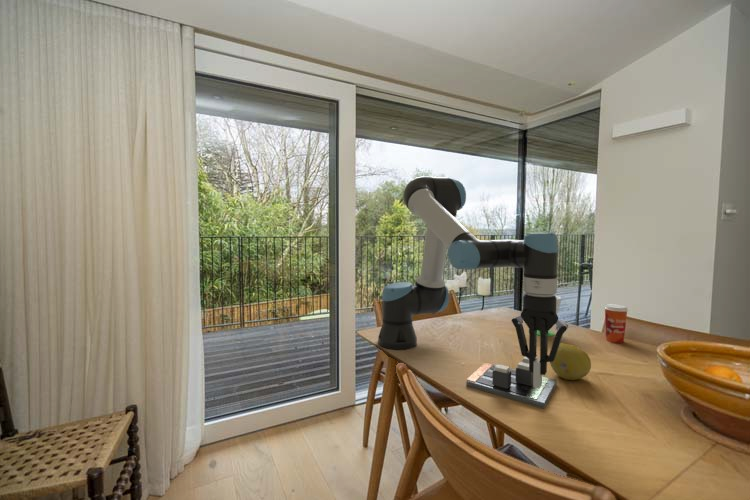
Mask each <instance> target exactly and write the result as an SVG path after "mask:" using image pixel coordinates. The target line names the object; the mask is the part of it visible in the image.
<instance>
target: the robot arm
mask: <svg viewBox="0 0 750 500" xmlns="http://www.w3.org/2000/svg"><path fill="white" fill-rule="evenodd" d="M402 197H403V202H404V204H405V205H404V206H405V207H406V208H407V210H409V211H410V212H411V214H413V215H417V216H418V217H419V218H420V219H421V220H422V221H423V222H424V223H425V225H426V226H427V227H426V233H425V239H424V240H425V241H424V245H423V246H424V248H423V254H422V260H421V261H422V263H421V269H420V275H419V276H417V277H416V279H415V285H413V284H412V282H408V281H399V282H393V283H388V284H387V285H385V286H384V287H383V289H382V295H381V296H382V297H381V300H382V303H381V304H382V306H381V307H382V308H381V309H382V324H381V327H380V330H379V334H378V336H377V337H378V338H377V340H378V341H377V343H378V345H379V346H380V347H382V348H385V349H390V350H406V349H411V348H414V347H415V346H417V344H418V338H417V335H416V331H415V328H414V324H413V316H416V315H418V316H419V315H426V314H436V313H441V312H443V311H445V310H446V308H447V307H448V305H449V303H450V293H449V292H450V291H449V288H448V287H447V285H446V282H445V281H444V280H443V276H444V270H445V269H444V268H445V262H446V256H448V260H449V263H450V265H451V266H452V267H453V268H455V269H456V270H467V271H469V270H478V269H488V268H489V269H491V268H492V269H494V268H496V269H497V268H517V269H518V268H519V269H523V280H522V281H523V282H522V283H523V285H522V286H523V287H522V288H523V289H522V290H523V293H524V294H523V295H522V311H521V312H520V315H518V316H514V317H513V318H511V323H512V324H513V326H514V327H515V332H516V335H517V340H518V344H519V349H520V353H521V356H523V357H527V358H528V359H529V371H530V372H533V387H537V388H540V387H541V385H542V377H543V376H545V375H546V374H547V372H548V371H547V369H548V363H550V362H553V361H554V359H555V357H556V354H557V351H558V348H559V345H560V343H562V342H561V341H562V338H563V335H564V333H565V332H566V331H567V330H568V328H569V325H568V324H567V323H563V322H562V321H561V320H559V316H558V314H556V296H557V295H556V294H557V290H558V289H557V288H558V286H557V285H558V275H557V271H558V270H557V269H558V257H559V256H558V254H559V247H558V235H557V234H556V233H554V232H526V233H525V234H524V237H523V239H507V238H500V239H478V238H477V237H476V236H475V235H474V234H473V233H472V232H470V230H468V229H467V228H466V226H464V225H463V224H462V223H461V222H460V221H459V220H458V219H457V218H456V217H457V212H458V211H460V210H461V209H463V207H464V206H465V204H466V201H467V192H466V188H465V186H464V184H463V182H462V181H461V180H459V179H458V178H452V177H446V176H445V177H444V176H427V175H425V176H423V175H422V176H417V177H414V178H413V179H411V180H410V181H409V182H408V183H407V184H406V186H405V188H404V190H403V196H402ZM447 250H448V252H447ZM555 295H556V296H555ZM523 323H525V325H526V326H527V328H528V334H529V343H528V341H527V338H526V332H525V329H524V325H523ZM554 326H555V330H556V334H554V335H555V336H554V339H553V342H552V346H551V349H550V351H549V352H548V349H549V348H548V345H549V343H548V342H549V338H548V337H549V336H548V331H550V330H551V329H552V328H553V327H554ZM537 330H538V331H540V335H539V336H540V338H539V339H540V344H539V346H540V347H539V349H540V350H539V358H537V356H538V355H537V346H538V344H537V341H538V340H537V339H538V335H537ZM528 345H529V346H528ZM548 353H549V355H548Z"/></svg>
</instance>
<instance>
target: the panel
mask: <svg viewBox="0 0 750 500" xmlns="http://www.w3.org/2000/svg"><path fill="white" fill-rule="evenodd" d="M496 365H497V364H492V363H487V362H485V363H483V364H482V365H481V366H480V367H478V369H476V370H475V371H474V372H473V373H472V374H471V375H470V376H468V378H466V380H465V381H466V382H465V383H466V384H465V385H466V387H468V388H471V389H475V390H479V391H483V392H486V393H489V394H492V395H496V396H499V397H503V398H506V399H509V400H513V401H516V402H519V403H522V404H526V405H529V406H533V407H536V408H539V409H541V410H542V409H543V410H544V409H545V407H546V406H547V404H548V402H549V400H550V398H551V396H552V395H553V392H554V391H555V389H556V387H557V379H554V378H551V377H547V376H542V385H541V387H540V388H537V387H533V384H532V386H529V385H525V384H521V383H517V382H516V369H513V368H509V370H511V385H510V387H509V388H508V389H506V388H502V387H499V386H495V385H493V370H494V369H495V366H496Z"/></svg>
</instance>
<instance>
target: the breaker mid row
mask: <svg viewBox="0 0 750 500" xmlns="http://www.w3.org/2000/svg"><path fill="white" fill-rule="evenodd" d="M515 370H516V382H517V383H521V384H525V385H529V386H532V384H533V372H530V371H529V364H528V363H524V362H522V361H519V362H518V364H517V366H516V367H515Z"/></svg>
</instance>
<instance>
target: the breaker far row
mask: <svg viewBox="0 0 750 500" xmlns="http://www.w3.org/2000/svg"><path fill="white" fill-rule="evenodd" d="M521 362H524V363H528V364H529V359H528V358H527V357H525V356H523V358H522V360H521Z"/></svg>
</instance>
